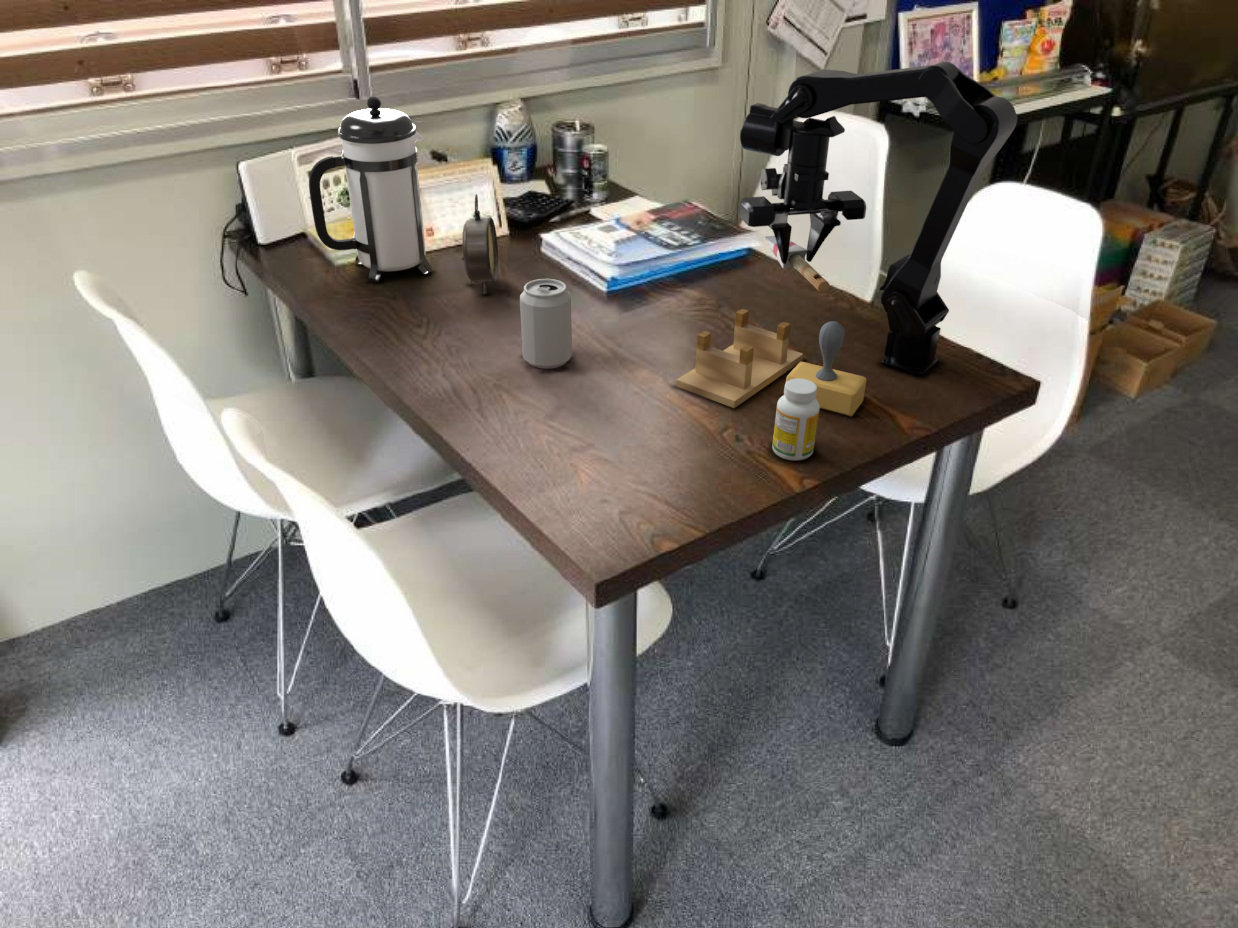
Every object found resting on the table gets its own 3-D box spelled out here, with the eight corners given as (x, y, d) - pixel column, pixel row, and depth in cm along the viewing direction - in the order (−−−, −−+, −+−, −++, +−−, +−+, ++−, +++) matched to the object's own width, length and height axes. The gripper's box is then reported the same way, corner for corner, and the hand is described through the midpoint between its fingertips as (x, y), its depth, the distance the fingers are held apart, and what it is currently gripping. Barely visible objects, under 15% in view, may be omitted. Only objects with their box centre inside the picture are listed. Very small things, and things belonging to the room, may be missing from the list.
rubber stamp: (783, 399, 142) (791, 322, 136) (797, 383, 147) (806, 307, 140) (850, 417, 138) (863, 338, 132) (863, 399, 143) (876, 322, 136)
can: (580, 354, 154) (579, 281, 147) (557, 375, 148) (555, 299, 142) (537, 345, 156) (535, 272, 150) (513, 365, 151) (509, 290, 144)
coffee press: (378, 247, 191) (357, 82, 174) (450, 260, 186) (436, 91, 169) (320, 280, 177) (292, 104, 161) (397, 295, 172) (376, 115, 156)
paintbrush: (783, 226, 165) (836, 277, 149) (781, 242, 166) (833, 294, 151) (761, 228, 164) (812, 279, 148) (759, 244, 165) (809, 296, 150)
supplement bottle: (777, 462, 129) (784, 396, 123) (767, 440, 133) (774, 376, 128) (818, 460, 129) (827, 395, 124) (807, 439, 134) (816, 374, 128)
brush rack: (802, 360, 153) (808, 317, 149) (734, 408, 140) (738, 362, 136) (746, 342, 158) (750, 299, 154) (676, 386, 145) (678, 341, 142)
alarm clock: (493, 298, 171) (487, 205, 163) (462, 297, 172) (454, 204, 163) (500, 273, 181) (495, 184, 172) (470, 273, 181) (464, 183, 172)
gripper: (843, 144, 157) (831, 239, 166) (729, 150, 154) (723, 248, 162) (874, 164, 148) (859, 264, 157) (754, 171, 145) (745, 274, 153)
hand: (796, 262), depth 157 cm, fingers closed on paintbrush, 4 cm apart
